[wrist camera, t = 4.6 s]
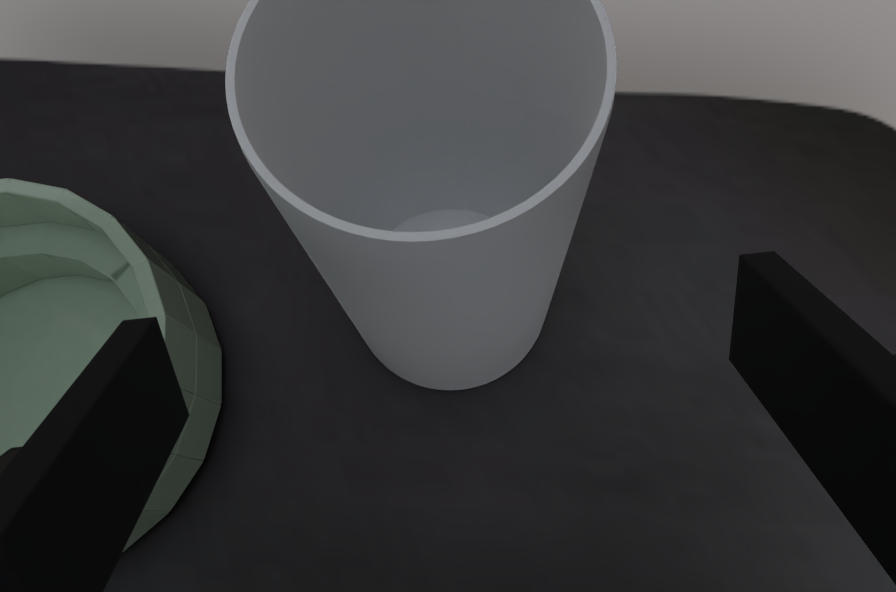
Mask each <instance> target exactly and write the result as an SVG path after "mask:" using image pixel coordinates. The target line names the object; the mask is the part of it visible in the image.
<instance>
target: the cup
mask: <svg viewBox="0 0 896 592" xmlns="http://www.w3.org/2000/svg"><path fill="white" fill-rule="evenodd" d="M616 61H617V59H616V49H615V43H614V37H613V33H612V29H611V25H610V22H609V20H608V17H607V14H606V12H605V9H604V7H603V5H602V3H601V1H600V0H250V1H249V2H248V4H247V6H246V8H245V9H244V11H243V13H242V15H241V17H240V19H239V22H238V24H237V26H236V29H235V31H234V34H233V38H232V41H231V44H230V48H229V53H228V58H227V64H226V77H225V84H226V99H227V106H228V112H229V116H230V119H231V123H232V126H233V129H234V132H235V134H236V137H237V139H238V142H239V144H240V146H241V149H242V151H243V154H244V156H245V157H246V159H247V161H248V163H249V165H250V167H251V168H252V170H253V171H254V173H255V174H256V176H257V178H258V179H259V181H260V182H261V184H262V185H263V187H264V188H265V190H266V191H267V193H268V194H269V196H270V198H271V199H272V201H273V202H274V204H275V205H276V207H277V208H278V210H279V211H280V213H281V214H282V216H283V218H284V219H285V221H286V222H287V224H288V225H289V227H290V228H291V230H292V231H293V233H294V234H295V236H296V237H297V239H298V240H299V242H300V243H301V245H302V246H303V248H304V249H305V251H306V252H307V254H308V255H309V257H310V259H311V260H312V262H313V263H314V265H315V266H316V268H317V269H318V271H319V272H320V274H321V275H322V277H323V278H324V280H325V281H326V283H327V284H328V286H329V287H330V289H331V290H332V292H333V293H334V295H335V297H336V298H337V300H338V301H339V303H340V304H341V306H342V307H343V309H344V310H345V312H346V313H347V315H348V316H349V318H350V319H351V321H352V322H353V324H354V325H355V327H356V328H357V330H358V331H359V333H360V335H361V336H362V338H363V339H364V341H365V342H366V344H367V345H368V347H369V348H370V350H371V351H372V352H373V354H374V355H375V356H376V357H377V358H378V360H379V361H380V362H381V363H382V364H383V365H384V366H386V367H387V368H388V369H389V370H391V371H392V372H393V373H395V374H396V375H398V376H399V377H401V378H403V379H405V380H407V381H409V382H411V383H414V384H416V385H419V386H423V387H426V388H431V389H437V390H463V389H469V388H474V387H478V386H481V385H484V384H487V383H489V382H491V381H493V380H496V379H497V378H499V377H501V376H503V375H504V374H506V373H507V372H508V371H510V370H511V369H513V368H514V367H515V366H516V365H517V364H518V363H519V362H520V361H521V360H522V359H523V358H524V357H525V356H526V355H527V354H528V352H529V351H530V349H531V348H532V347H533V345H534V343H535V342H536V340H537V338H538V336H539V334H540V332H541V329H542V326H543V323H544V320H545V317H546V314H547V311H548V308H549V305H550V302H551V299H552V296H553V293H554V290H555V287H556V283H557V280H558V277H559V274H560V271H561V268H562V265H563V262H564V259H565V256H566V253H567V250H568V246H569V243H570V240H571V237H572V234H573V231H574V228H575V225H576V222H577V219H578V216H579V213H580V209H581V206H582V203H583V200H584V197H585V194H586V191H587V188H588V185H589V182H590V179H591V176H592V172H593V169H594V166H595V163H596V160H597V157H598V154H599V151H600V147H601V144H602V141H603V138H604V135H605V132H606V129H607V125H608V122H609V119H610V115H611V111H612V106H613V102H614V94H615V85H616V75H617V62H616Z"/></svg>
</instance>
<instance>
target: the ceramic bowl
mask: <svg viewBox="0 0 896 592" xmlns="http://www.w3.org/2000/svg"><path fill="white" fill-rule="evenodd" d="M149 317H157V320H158V323H159V326H160V329H161V332H162V335H163V338H164V341H165V344H166V347H167V350H168V353H169V356H170V359H171V362H172V365H173V368H174V371H175V374H176V377H177V380H178V382H179V385H180V388H181V391H182V394H183V397H184V400H185V403H186V406H187V409H188V412H189V417H188V420H187V422H186V424H185V426H184V428H183V430H182V432H181V434H180V436H179V438H178V440H177V442H176V444H175V446H174V448H173V450H172V452H171V454H170V456H169V458H168V460H167V462H166V464H165V466H164V468H163V470H162V472H161V474H160V476H159V478H158V480H157V482H156V485H155V487H154V489H153V491H152V493H151V495H150V497H149V499H148V501H147V503H146V505H145V507H144V509H143V511H142V513H141V515H140V517H139V519H138V521H137V523H136V525H135V527H134V529H133V531H132V533H131V535H130V537H129V539H128V541H127V543H126V545H125V547H124V549H123V552H124V551H125V550H126V549H127V548H128V547H130V546H131V545H132V544H133V543H134V542H136V541H137V540H138V539H139V538H140V537H141V536H143V535H144V534H145V533H146V532H147V531H148V530H150V529H151V528H152V527H153V526H154V525H155V524H157V523H158V522H159V521H160V520H161V519H162V518H164V517H165V516H166V515H167V514H168V513H169V511H171V509H172V508H173V506H174V505H175V503H176V502H177V500H178V499H179V497H180V496H181V494H182V493H183V491H184V490H185V488H186V487H187V485H188V484H189V482H190V481H191V479H192V478H193V476H194V475H195V473H196V472H197V470H198V469H199V467H200V466H201V464H202V463H203V460H204V458H205V455H206V452H207V449H208V446H209V443H210V439H211V436H212V433H213V430H214V427H215V423H216V420H217V417H218V414H219V411H220V408H221V357H222V352H221V347H220V344H219V342H218V339H217V336H216V333H215V330H214V327H213V324H212V321H211V318H210V315H209V312H208V309H207V306H206V304H205V303H204V301H203V300H202V299H201V297H200V296H199V295H198V294H197V293H196V291H195V290H194V289H193V288H192V286H191V285H190V284H189V283H188V282H187V280H186V279H185V278H184V277H183V275H182V274H181V273H180V272H179V270H178V269H177V268H176V267H175V266H174V265H172V264H171V263H170V262H169V261H168V260H166V259H165V258H164V257H163V256H161V255H160V254H159V253H158V252H156V251H155V250H154V249H153V248H152V247H150V246H149V245H148V244H147V243H146V242H144V241H143V240H142V239H141V238H139V237H138V236H137V235H136V234H135V233H133V232H132V231H131V230H130V229H128V228H127V227H126V226H125V225H124V224H122V223H121V222H120V221H119V220H117V219H116V218H115V217H114V216H112V215H111V214H109V213H107V212H106V211H104V210H102V209H100V208H99V207H97V206H95V205H94V204H92V203H90V202H88V201H87V200H85V199H83V198H81V197H80V196H78V195H76V194H75V193H73V192H71V191H69V190H68V189H65V188H59V187H54V186H49V185H43V184H38V183H33V182H28V181H22V180H17V179H10V178H5V179H0V456H1V455H2V454H3V453H5V452H6V451H7V450H9V449H10V448H13V447H23V445H24V444H25V443H26V442H27V440H28V439H29V438H30V437H31V435H32V434H33V433H34V432H35V430H36V429H37V428H38V426H39V425H40V424H41V423H42V421H43V420H44V419H45V418H46V416H47V415H48V414H49V413H50V411H51V410H52V409H53V408H54V406H55V405H56V404H57V403H58V401H59V400H60V399H61V398H62V396H63V395H64V394H65V392H66V391H67V390H68V389H69V387H70V386H71V385H72V384H73V382H74V381H75V380H76V379H77V377H78V376H79V375H80V374H81V372H82V371H83V370H84V369H85V367H86V366H87V365H88V364H89V362H90V361H91V360H92V358H93V357H94V356H95V355H96V353H97V352H98V351H99V350H100V348H101V347H102V346H103V345H104V343H105V342H106V341H107V340H108V338H109V337H110V336H111V335H112V333H113V332H114V331H115V330H116V328H117V327H118V326H119V324H120V323H121V322H122V321H123V320H130V319H139V318H149Z"/></svg>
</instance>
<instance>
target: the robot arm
mask: <svg viewBox="0 0 896 592" xmlns="http://www.w3.org/2000/svg"><path fill="white" fill-rule="evenodd" d="M729 360H730V361H731V363H732V364H733V365H734V367H735V368H736V369H737V371H738V372H739V373H740V375H741V376H742V378H743V379H744V380H745V382H746V383H747V384H748V386H749V387H750V388H751V390H752V391H753V392H754V394H755V395H756V396H757V398H758V399H759V401H760V402H761V403H762V405H763V406H764V407H765V409H766V410H767V411H768V413H769V414H770V415H771V417H772V418H773V419H774V421H775V422H776V424H777V425H778V426H779V428H780V429H781V430H782V432H783V433H784V434H785V436H786V437H787V438H788V440H789V441H790V442H791V444H792V445H793V447H794V448H795V449H796V451H797V452H798V453H799V455H800V456H801V457H802V459H803V460H804V461H805V463H806V464H807V465H808V467H809V468H810V470H811V471H812V472H813V474H814V475H815V476H816V478H817V479H818V480H819V482H820V483H821V484H822V486H823V487H824V488H825V490H826V491H827V493H828V494H829V495H830V497H831V498H832V499H833V501H834V502H835V503H836V505H837V506H838V507H839V509H840V510H841V511H842V513H843V514H844V516H845V517H846V518H847V520H848V521H849V522H850V524H851V525H852V526H853V528H854V529H855V530H856V532H857V533H858V534H859V536H860V537H861V538H862V540H863V541H864V543H865V544H866V545H867V547H868V548H869V549H870V551H871V552H872V553H873V555H874V556H875V557H876V559H877V560H878V561H879V563H880V564H881V566H882V567H883V568H884V570H885V571H886V572H887V574H888V575H889V576H890V578H891V579H892V580H893V582H894V583H895V584H896V354H895V355H892V354H891V353H890V352H889V351H888V350H887V349H886V348H884V347H883V346H882V345H881V344H880V343H879V342H878V341H876V340H875V339H874V338H873V337H872V336H871V335H870V334H868V333H867V332H866V331H865V330H864V329H863V328H861V327H860V326H859V325H858V324H857V323H856V322H855V321H853V320H852V319H851V318H850V317H849V316H848V315H847V314H845V313H844V312H843V311H842V310H841V309H840V308H839V307H837V306H836V305H835V304H834V303H833V302H832V301H831V300H829V299H828V298H827V297H826V296H825V295H824V294H823V293H821V292H820V291H819V290H818V289H817V288H816V287H814V286H813V285H812V284H811V283H810V282H809V281H808V280H806V279H805V278H804V277H803V276H802V275H801V274H800V273H798V272H797V271H796V270H795V269H794V268H793V267H792V266H790V265H789V264H788V263H787V262H786V261H785V260H784V259H782V258H781V257H780V256H779V255H778V254H777V253H776V252H774V251H772V252H762V253H753V254H743V255H740V256H739V266H738V276H737V286H736V296H735V306H734V316H733V326H732V336H731V346H730V356H729ZM188 417H189V412H188V409H187V406H186V403H185V400H184V397H183V394H182V391H181V388H180V385H179V382H178V380H177V377H176V374H175V371H174V368H173V365H172V362H171V359H170V356H169V353H168V350H167V347H166V344H165V341H164V338H163V335H162V332H161V329H160V326H159V323H158V320H157V317H149V318H139V319H130V320H123V321H122V322H121V323H120V324H119V326H118V327H117V328H116V330H115V331H114V332H113V333H112V335H111V336H110V337H109V338H108V340H107V341H106V342H105V343H104V345H103V346H102V347H101V348H100V350H99V351H98V352H97V353H96V355H95V356H94V357H93V358H92V360H91V361H90V362H89V364H88V365H87V366H86V367H85V369H84V370H83V371H82V372H81V374H80V375H79V376H78V377H77V379H76V380H75V381H74V382H73V384H72V385H71V386H70V387H69V389H68V390H67V391H66V392H65V394H64V395H63V396H62V398H61V399H60V400H59V401H58V403H57V404H56V405H55V406H54V408H53V409H52V410H51V411H50V413H49V414H48V415H47V416H46V418H45V419H44V420H43V421H42V423H41V424H40V425H39V426H38V428H37V429H36V430H35V432H34V433H33V434H32V435H31V437H30V438H29V439H28V440H27V442H26V443H25V444H24V445H23V447H13V448H10V449H9V450H7V451H6V452H5V453H3V454H2V455H1V456H0V592H103V590H104V588H105V586H106V584H107V582H108V580H109V578H110V576H111V574H112V572H113V570H114V568H115V566H116V564H117V562H118V560H119V558H120V556H121V554H122V552H123V549H124V547H125V545H126V543H127V541H128V539H129V537H130V535H131V533H132V531H133V529H134V527H135V525H136V523H137V521H138V519H139V517H140V515H141V513H142V511H143V509H144V507H145V505H146V503H147V501H148V499H149V497H150V495H151V493H152V491H153V489H154V487H155V485H156V482H157V480H158V478H159V476H160V474H161V472H162V470H163V468H164V466H165V464H166V462H167V460H168V458H169V456H170V454H171V452H172V450H173V448H174V446H175V444H176V442H177V440H178V438H179V436H180V434H181V432H182V430H183V428H184V426H185V424H186V422H187V420H188Z"/></svg>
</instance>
